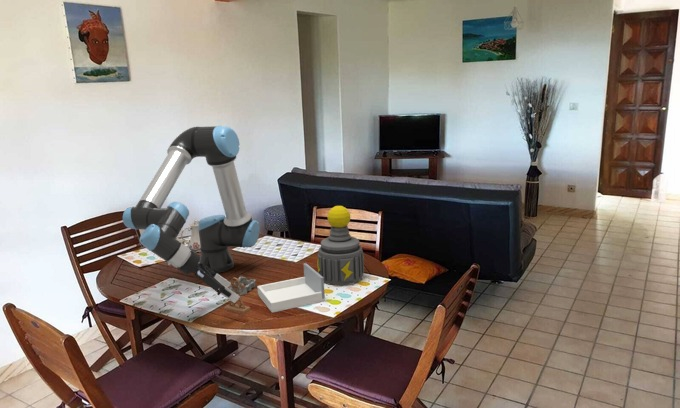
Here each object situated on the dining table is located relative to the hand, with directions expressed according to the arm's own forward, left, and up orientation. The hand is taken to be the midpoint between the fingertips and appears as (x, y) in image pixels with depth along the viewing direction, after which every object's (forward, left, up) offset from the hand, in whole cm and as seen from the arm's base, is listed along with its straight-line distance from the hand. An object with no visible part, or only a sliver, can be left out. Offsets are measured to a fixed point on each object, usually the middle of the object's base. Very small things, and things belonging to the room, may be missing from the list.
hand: (232, 292), depth 175 cm
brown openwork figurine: (-1, +1, -7) cm, 7 cm away
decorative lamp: (-10, +46, -7) cm, 48 cm away
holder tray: (-1, +21, -7) cm, 22 cm away
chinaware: (-82, 0, -7) cm, 82 cm away
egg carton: (-18, +8, -7) cm, 21 cm away
